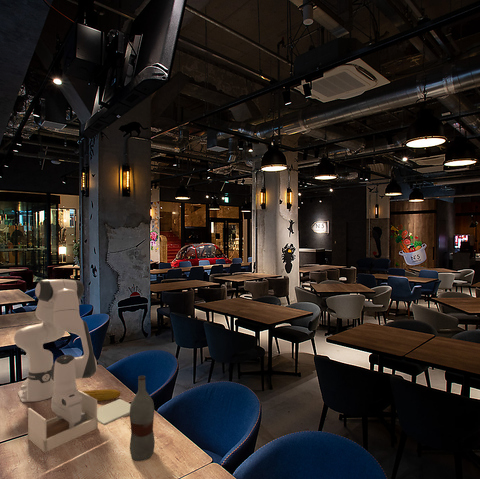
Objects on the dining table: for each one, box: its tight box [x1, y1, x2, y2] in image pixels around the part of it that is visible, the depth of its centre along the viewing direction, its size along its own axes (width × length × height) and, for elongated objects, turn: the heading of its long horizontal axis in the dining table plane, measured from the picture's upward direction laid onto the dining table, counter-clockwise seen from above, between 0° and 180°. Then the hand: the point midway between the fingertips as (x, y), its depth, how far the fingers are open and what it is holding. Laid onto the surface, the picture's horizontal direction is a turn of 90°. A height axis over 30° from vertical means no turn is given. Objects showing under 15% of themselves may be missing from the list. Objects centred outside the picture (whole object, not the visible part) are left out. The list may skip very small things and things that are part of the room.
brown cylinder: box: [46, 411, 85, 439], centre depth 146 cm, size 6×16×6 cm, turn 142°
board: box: [97, 398, 131, 426], centre depth 164 cm, size 16×18×1 cm
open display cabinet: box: [27, 390, 99, 453], centre depth 146 cm, size 16×22×13 cm
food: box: [81, 388, 122, 402], centre depth 177 cm, size 21×6×6 cm, turn 107°
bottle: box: [128, 375, 156, 462], centre depth 131 cm, size 9×9×30 cm
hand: (65, 426), depth 146 cm, fingers open, 8 cm apart
